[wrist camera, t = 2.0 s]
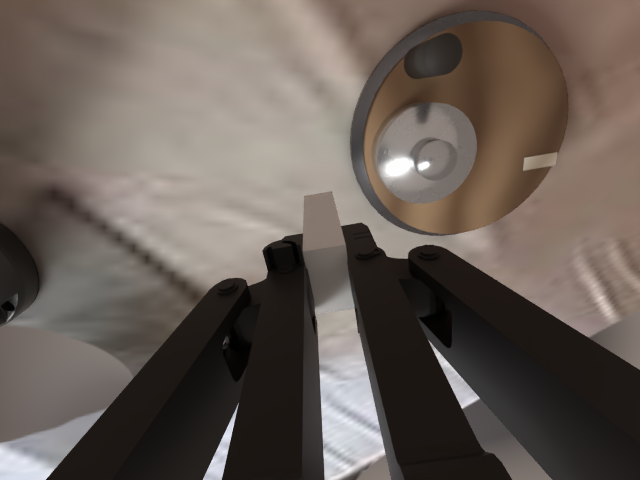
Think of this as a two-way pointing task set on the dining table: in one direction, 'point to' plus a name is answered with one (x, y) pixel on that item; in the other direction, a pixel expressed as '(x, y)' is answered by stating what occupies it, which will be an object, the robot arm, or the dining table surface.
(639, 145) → the dining table surface
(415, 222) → the platter
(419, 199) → the cover
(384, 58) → the turntable base
